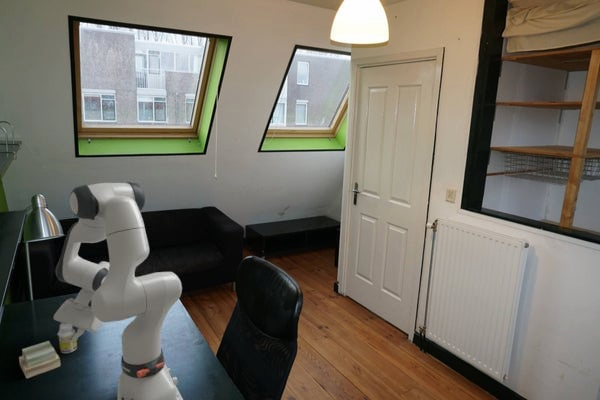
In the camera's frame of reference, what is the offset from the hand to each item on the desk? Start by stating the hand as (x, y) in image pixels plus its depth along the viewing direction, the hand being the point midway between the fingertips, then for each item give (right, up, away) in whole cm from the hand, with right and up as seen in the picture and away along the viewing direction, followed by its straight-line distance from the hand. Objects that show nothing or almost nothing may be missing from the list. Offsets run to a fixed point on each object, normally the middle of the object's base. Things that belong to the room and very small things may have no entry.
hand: (66, 338), depth 148 cm
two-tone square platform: (-4, -7, -8) cm, 11 cm away
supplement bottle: (0, -5, +2) cm, 5 cm away
